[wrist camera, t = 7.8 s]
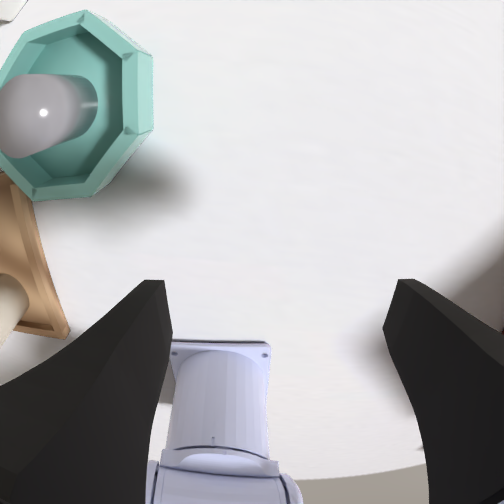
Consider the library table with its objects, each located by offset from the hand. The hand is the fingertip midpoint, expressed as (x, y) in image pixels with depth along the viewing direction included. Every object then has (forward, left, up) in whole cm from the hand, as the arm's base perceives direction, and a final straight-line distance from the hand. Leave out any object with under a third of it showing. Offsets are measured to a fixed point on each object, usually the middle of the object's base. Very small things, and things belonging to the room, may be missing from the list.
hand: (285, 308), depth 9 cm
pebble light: (-7, +21, -9) cm, 24 cm away
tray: (-4, +21, -10) cm, 24 cm away
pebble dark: (+6, +12, -9) cm, 16 cm away
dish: (+7, +12, -10) cm, 17 cm away
